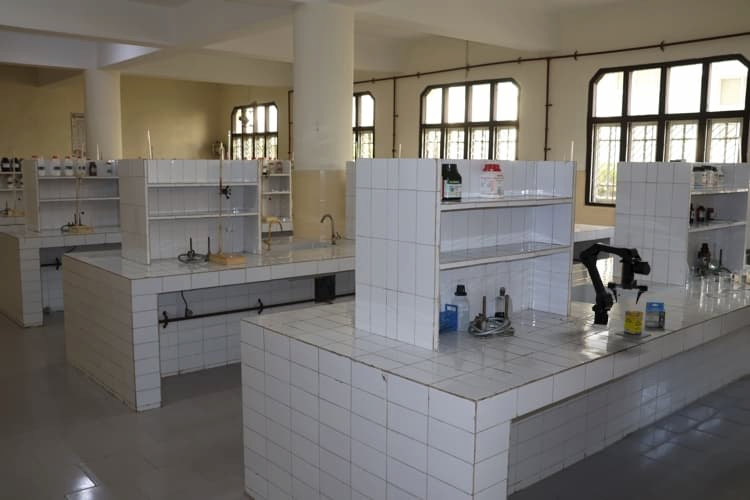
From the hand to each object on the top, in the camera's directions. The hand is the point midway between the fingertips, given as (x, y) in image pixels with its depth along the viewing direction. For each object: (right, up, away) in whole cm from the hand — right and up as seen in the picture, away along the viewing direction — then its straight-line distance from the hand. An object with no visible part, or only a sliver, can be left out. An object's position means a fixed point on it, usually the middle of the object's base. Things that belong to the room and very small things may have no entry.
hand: (626, 303), depth 335 cm
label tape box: (+17, -13, +8) cm, 23 cm away
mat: (-1, -14, -10) cm, 17 cm away
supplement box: (-1, -14, -10) cm, 17 cm away
